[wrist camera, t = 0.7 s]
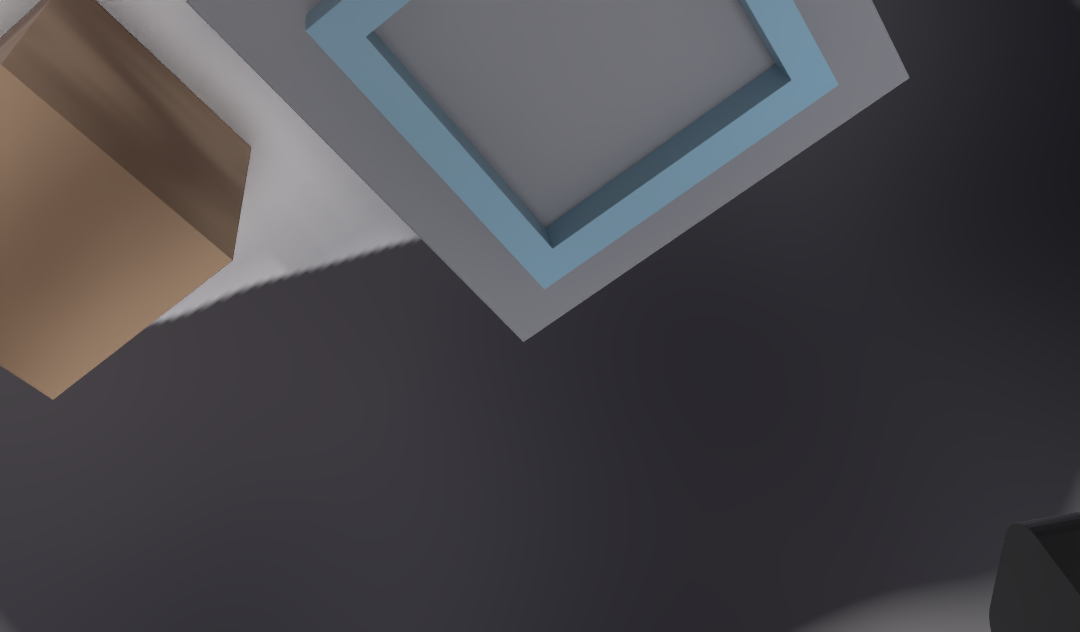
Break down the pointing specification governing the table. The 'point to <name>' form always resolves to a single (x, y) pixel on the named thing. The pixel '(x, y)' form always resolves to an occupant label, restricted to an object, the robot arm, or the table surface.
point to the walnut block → (102, 191)
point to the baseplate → (561, 117)
